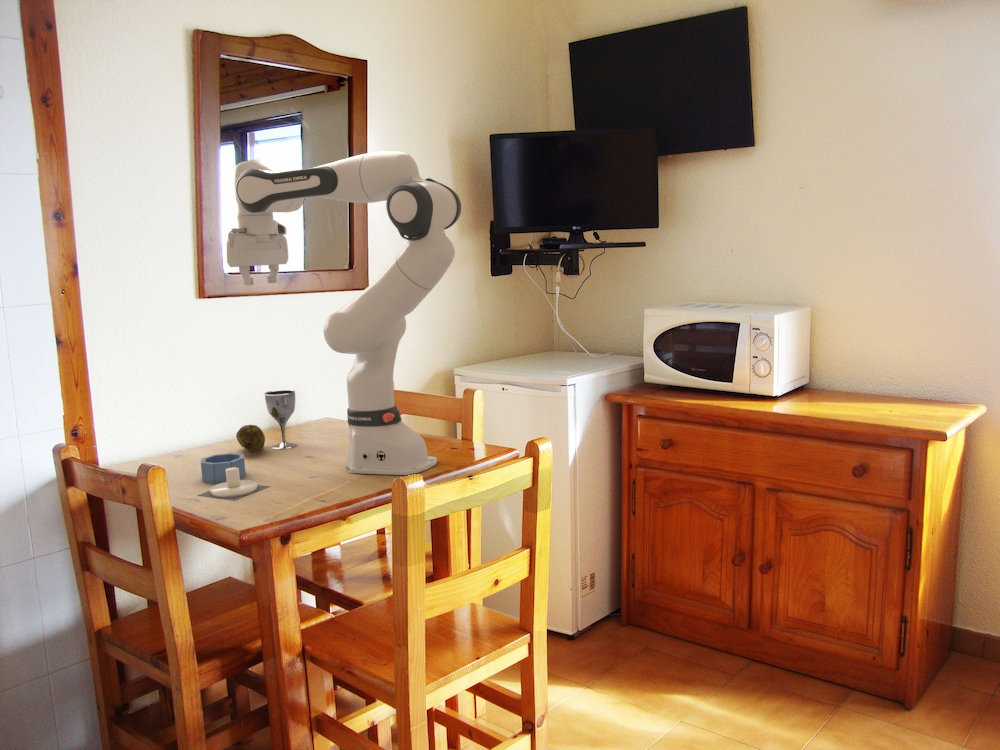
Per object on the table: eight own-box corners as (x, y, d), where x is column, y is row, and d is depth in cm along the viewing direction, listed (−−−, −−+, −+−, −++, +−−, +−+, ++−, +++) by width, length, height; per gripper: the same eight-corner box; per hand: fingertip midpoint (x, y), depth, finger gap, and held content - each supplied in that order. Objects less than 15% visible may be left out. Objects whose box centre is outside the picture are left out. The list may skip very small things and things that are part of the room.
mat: (270, 488, 187) (270, 486, 187) (234, 502, 177) (234, 500, 177) (234, 483, 192) (233, 481, 192) (197, 497, 182) (197, 495, 182)
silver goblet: (263, 448, 226) (258, 394, 223) (281, 442, 233) (276, 389, 231) (287, 450, 223) (283, 395, 220) (305, 443, 230) (300, 389, 228)
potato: (273, 445, 229) (271, 417, 228) (262, 457, 216) (259, 427, 215) (243, 447, 229) (240, 418, 228) (230, 458, 216) (227, 428, 215)
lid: (267, 486, 186) (265, 464, 186) (234, 499, 178) (232, 476, 177) (233, 482, 191) (231, 461, 190) (200, 495, 182) (198, 472, 181)
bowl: (254, 475, 198) (252, 455, 198) (224, 486, 190) (222, 465, 189) (224, 472, 203) (222, 452, 202) (194, 482, 194) (191, 461, 194)
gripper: (238, 227, 196) (244, 286, 198) (290, 227, 215) (295, 281, 217) (217, 228, 198) (223, 287, 200) (270, 229, 217) (274, 282, 219)
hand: (260, 284), depth 208 cm, fingers open, 8 cm apart
